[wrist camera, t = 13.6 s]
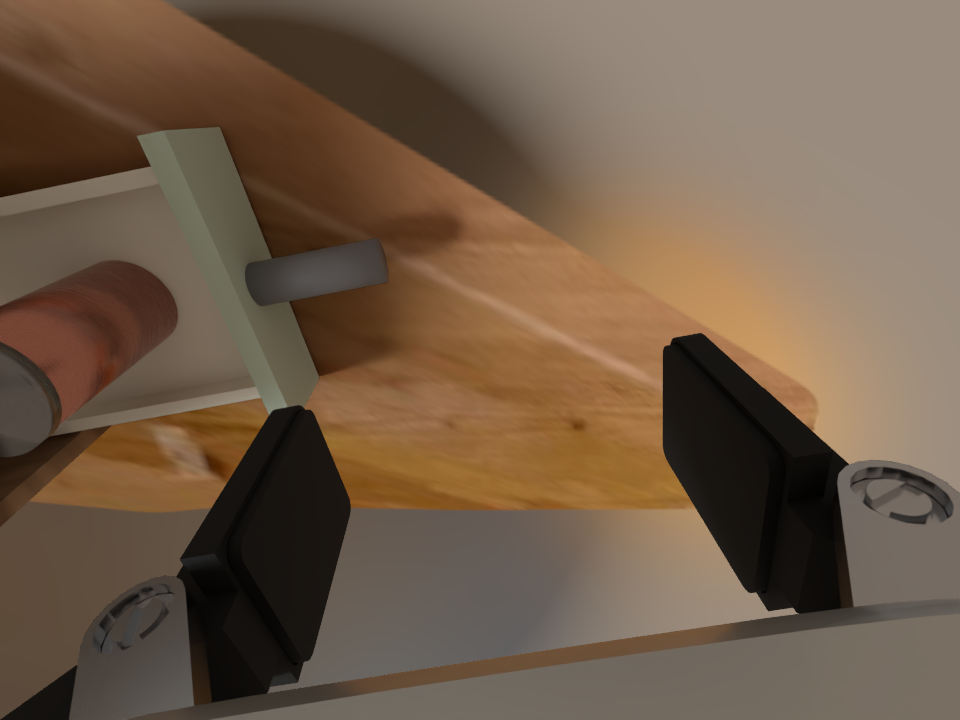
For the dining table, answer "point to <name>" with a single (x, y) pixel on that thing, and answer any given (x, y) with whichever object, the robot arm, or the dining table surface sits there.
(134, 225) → the green drawer
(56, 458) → the drawer cabinet
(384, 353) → the dining table surface
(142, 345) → the tea tin
